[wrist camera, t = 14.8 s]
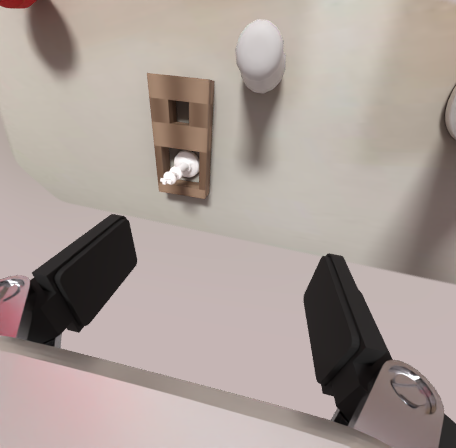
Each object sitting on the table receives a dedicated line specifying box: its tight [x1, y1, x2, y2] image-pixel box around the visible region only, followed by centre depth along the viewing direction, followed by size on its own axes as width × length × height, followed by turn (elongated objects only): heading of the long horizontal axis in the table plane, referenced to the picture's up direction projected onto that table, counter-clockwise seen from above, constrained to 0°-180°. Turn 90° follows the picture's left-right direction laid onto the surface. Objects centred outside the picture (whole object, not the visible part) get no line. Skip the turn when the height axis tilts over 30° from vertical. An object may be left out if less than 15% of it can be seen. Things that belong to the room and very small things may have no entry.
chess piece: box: [160, 150, 199, 185], centre depth 33 cm, size 5×5×10 cm
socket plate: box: [147, 73, 214, 199], centre depth 34 cm, size 9×18×3 cm, turn 175°
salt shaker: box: [236, 19, 286, 93], centre depth 23 cm, size 6×6×13 cm
